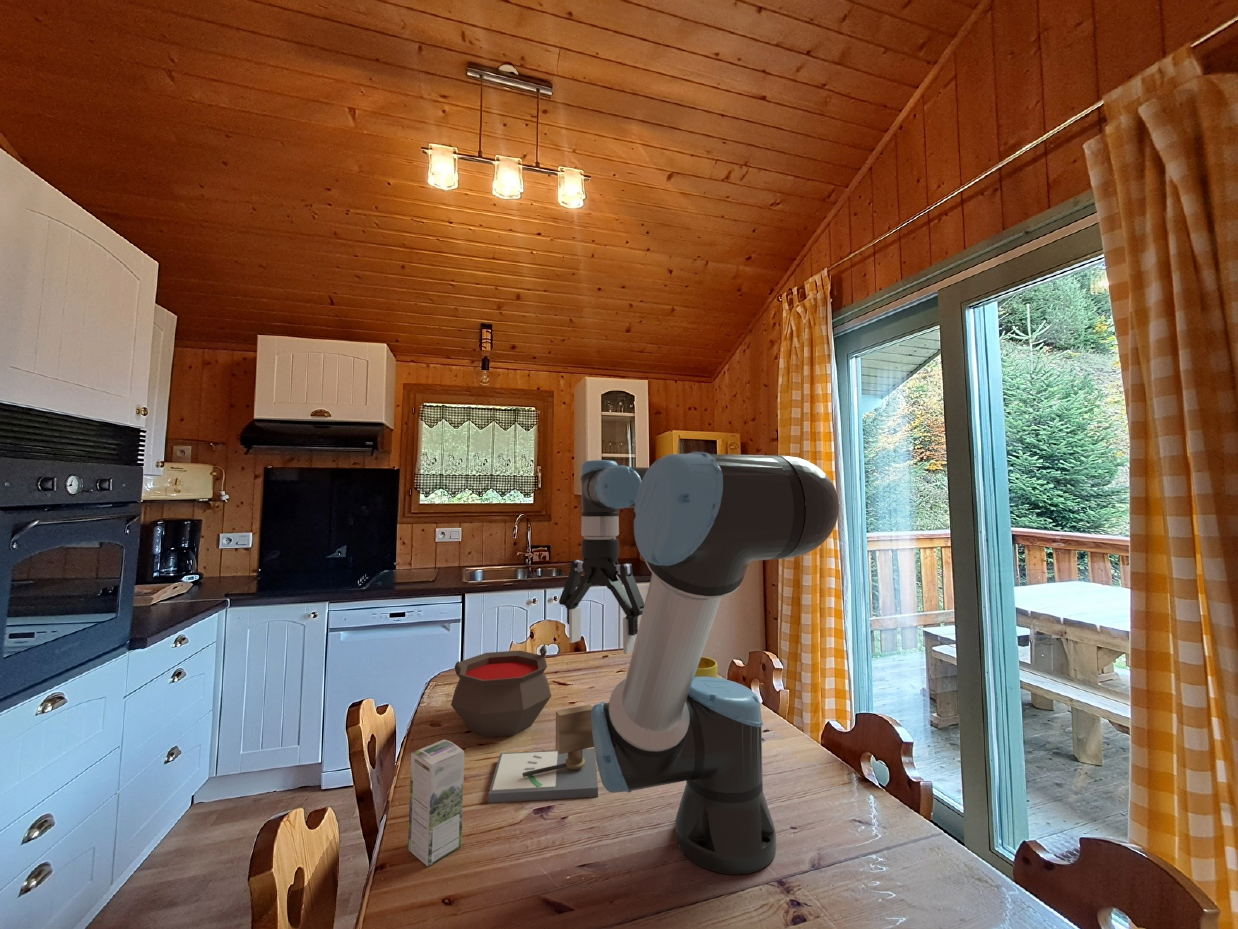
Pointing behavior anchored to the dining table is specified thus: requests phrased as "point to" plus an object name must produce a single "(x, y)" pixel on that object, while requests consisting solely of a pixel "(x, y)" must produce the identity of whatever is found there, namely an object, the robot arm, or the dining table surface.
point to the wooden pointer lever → (571, 737)
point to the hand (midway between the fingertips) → (600, 646)
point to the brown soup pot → (501, 691)
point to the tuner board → (542, 777)
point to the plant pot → (706, 668)
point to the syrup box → (436, 801)
